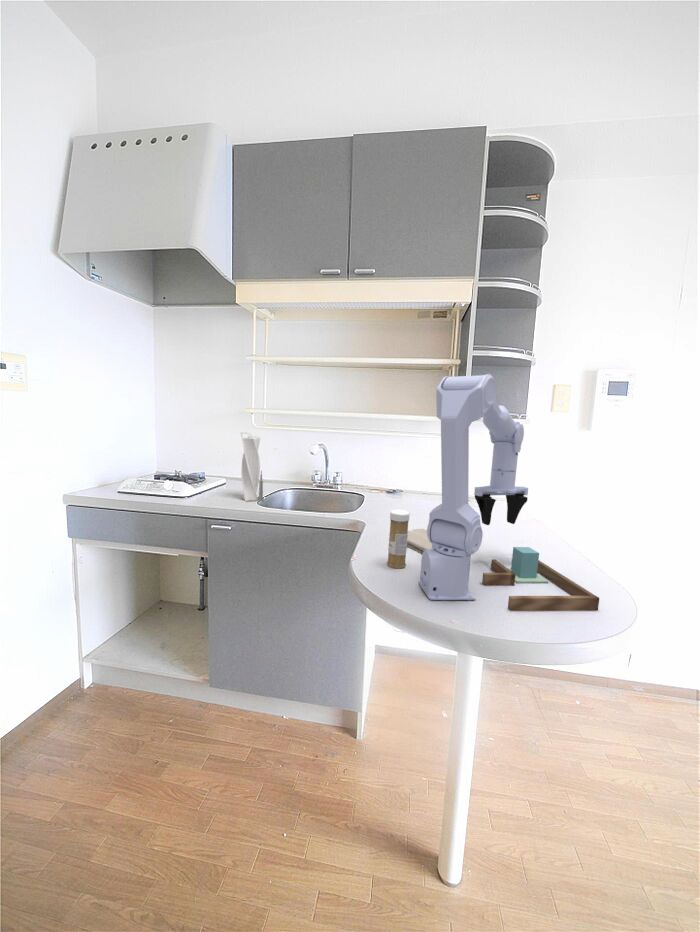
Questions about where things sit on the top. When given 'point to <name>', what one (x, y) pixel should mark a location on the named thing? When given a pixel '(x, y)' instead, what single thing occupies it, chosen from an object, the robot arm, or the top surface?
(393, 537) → the sprinkles bottle
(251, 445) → the skyscraper
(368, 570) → the top surface
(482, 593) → the top surface
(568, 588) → the channel
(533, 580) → the pad
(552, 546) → the top surface
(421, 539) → the washcloth
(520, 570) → the teal block
